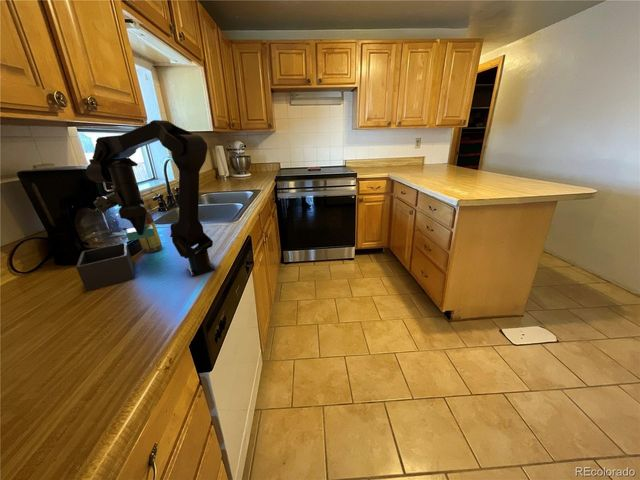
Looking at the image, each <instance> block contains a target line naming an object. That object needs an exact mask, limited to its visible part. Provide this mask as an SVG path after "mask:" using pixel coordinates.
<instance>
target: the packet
mask: <svg viewBox="0 0 640 480" xmlns="http://www.w3.org/2000/svg"><path fill="white" fill-rule="evenodd" d="M125 235H126V237H127V241H128V242H131V241H137V240H139V239H142V238H147V237H152V236H155V234H154V230H153V227H152V225H147V226H144V231H143V235H138V233H137V231H136V230H135V228H134V227H129V228H126V229H125Z"/></svg>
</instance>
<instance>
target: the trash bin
mask: <svg viewBox="0 0 640 480" xmlns="http://www.w3.org/2000/svg"><path fill="white" fill-rule="evenodd" d="M75 268H76V270H77V273H78V275H79V277H80V280H81V282H82V285H83V287H84V289H85V291H86V292H89V291H92V290H96V289H100V288H103V287H107V286H111V285H116V284H118V283H122V282H126V281H131V280H133V279H135V268H134V261H133V258H132V256H131V252H130V250H129V246H128V244H127V242H120V243H117V244H110V245H106V246H102V247H97V248H91V249H88V250H87V249H86V250H83V251H81V253H80V256H79V258H78V261H77V263H76V266H75Z"/></svg>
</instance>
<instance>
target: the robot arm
mask: <svg viewBox="0 0 640 480" xmlns="http://www.w3.org/2000/svg"><path fill="white" fill-rule="evenodd" d="M158 141H159V142H160V144H161V146H162V147H163V148H165V149H167V150H168V151H170V153H171V159H172V161H173V163H174V164H175V166H176V168H177V169H178V220H177V221H176V222H173V223H171V224H170V226H169V227H170V236H169V237H170V238H171V241H172V244H173V245H174V247H175V249H176V251H177V253H178V254H179V256H180V257H181V258H184V259H188V263H189V266H188V267H187V269H188V271H189V273H190V274H191V277H196V276H199V275H203V274H205V273H209V272H212V271H215V270H216V269H215V267H214V265H213V264H212V263H211V260H210V256H209V251H208V249H210V248H212V247H213V244H214V241H213V239H212V238H210V237H209V236H208V235H207V234H206V233H205V232H204V226H203V224H202V223H201V221H200V220H199V199H200V198H199V197H200V192H199V191H200V171H201V169H202V168H203V166H204V164H205V163H206V159H207V155H208V143H207V142H206V141H205V139H204V138H203V137H202V136H201V135H199V134H194V133H192V132H190V131H189V130H187V129H184V128H182V127H180V126H177V125H176V124H174V123H172V122H170V121H169V120H161V119H153V120H151V121H150V122H149V123H146V124H144V125H142V126H139V127H137V128H135V129H132V130H130V131H128V132H125V133H123V134H119V135H109V136H100V137H98V138H96V140H95V145H94V146H95V147H94V151H93V155H92V158H90V159H88V161H89V164H87V166H86V169H85V174H86V176H87V178H88V179H89V180H90V181H92V182H94V183H110V184H113V192H112V193H108V194H106V195H105V196H104V195H101V196H100V197H96V200H94V201H93V205H94V206H95V208H96V209H97V210H99V212H101V213H105V212H107V211H108V210H110V209H112V208H115V207H116V206H118V207H119V209H118V214H119V217H120V219H122V220H123V219H124V220H127V221H129V222H130V224H131V225H132V228H135V230H136V231H137V233H138V235H143V231H144V225H145V220H146V215H147V212H146V210H147V208H146V206H145V201H144V198H143V197H142V195H141V192H140V187H139V184H138V181H137V178H136V174H135V171H134V167H138V163H137V162H136V161H134V160H132V159H131V158H130V157H132V156H133V155H134V154H135V153H136V152H137V150H138V149H141V148H142V147H146V146H147V145H150V144H153V143H155V142H158ZM141 203H142V204H141Z"/></svg>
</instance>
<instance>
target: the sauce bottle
mask: <svg viewBox="0 0 640 480" xmlns="http://www.w3.org/2000/svg"><path fill="white" fill-rule="evenodd" d="M141 204H142V203H141ZM146 212H147V215H146V220H145V225H144V226H147V225H152V227H153V230H154V234H155V236H152V237H147V238H142V239H138V240H139V243H140V246H141V248H142V250H143V252H144V253H156V252H158V251H160V250H162V249H163V245H162V241H161V238H160V235H159V232H158V228H157V227H156V226H157V225H156V223H155V221H154V218H153V216H152V214H151V213H150V212H149V211H148V210H147V209H146Z"/></svg>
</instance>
